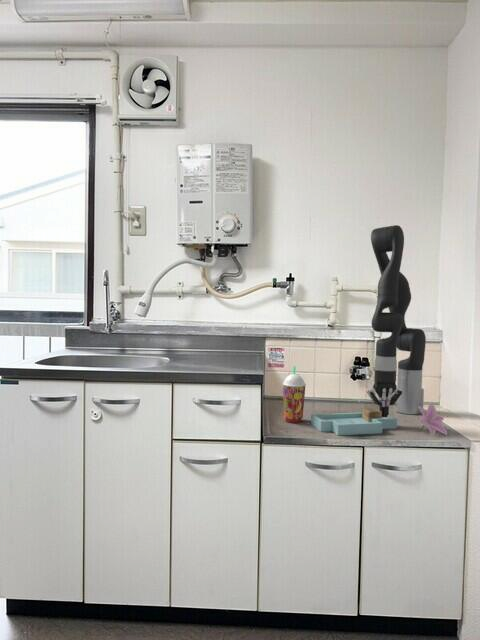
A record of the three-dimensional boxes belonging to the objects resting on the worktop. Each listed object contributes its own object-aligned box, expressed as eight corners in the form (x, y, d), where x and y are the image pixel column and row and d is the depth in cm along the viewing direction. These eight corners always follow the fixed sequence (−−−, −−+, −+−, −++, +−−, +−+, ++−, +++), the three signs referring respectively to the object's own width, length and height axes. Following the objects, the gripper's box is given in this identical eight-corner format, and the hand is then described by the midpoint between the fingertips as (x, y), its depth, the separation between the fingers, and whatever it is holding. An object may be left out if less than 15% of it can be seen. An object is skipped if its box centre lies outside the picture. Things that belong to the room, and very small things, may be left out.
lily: (411, 439, 174) (425, 417, 170) (402, 417, 184) (415, 396, 180) (443, 449, 175) (458, 428, 171) (433, 427, 186) (446, 406, 182)
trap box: (383, 421, 193) (383, 411, 192) (404, 432, 178) (404, 422, 178) (310, 424, 187) (311, 414, 187) (326, 435, 172) (326, 425, 172)
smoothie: (278, 419, 193) (279, 365, 192) (298, 417, 196) (299, 364, 195) (287, 424, 185) (289, 368, 184) (308, 423, 188) (310, 367, 187)
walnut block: (375, 417, 189) (375, 408, 189) (381, 421, 184) (381, 411, 184) (362, 418, 188) (362, 408, 188) (368, 421, 183) (368, 412, 183)
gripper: (397, 366, 191) (395, 413, 192) (363, 367, 188) (362, 414, 189) (408, 369, 184) (406, 418, 185) (373, 370, 181) (371, 420, 182)
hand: (383, 416), depth 187 cm, fingers closed
